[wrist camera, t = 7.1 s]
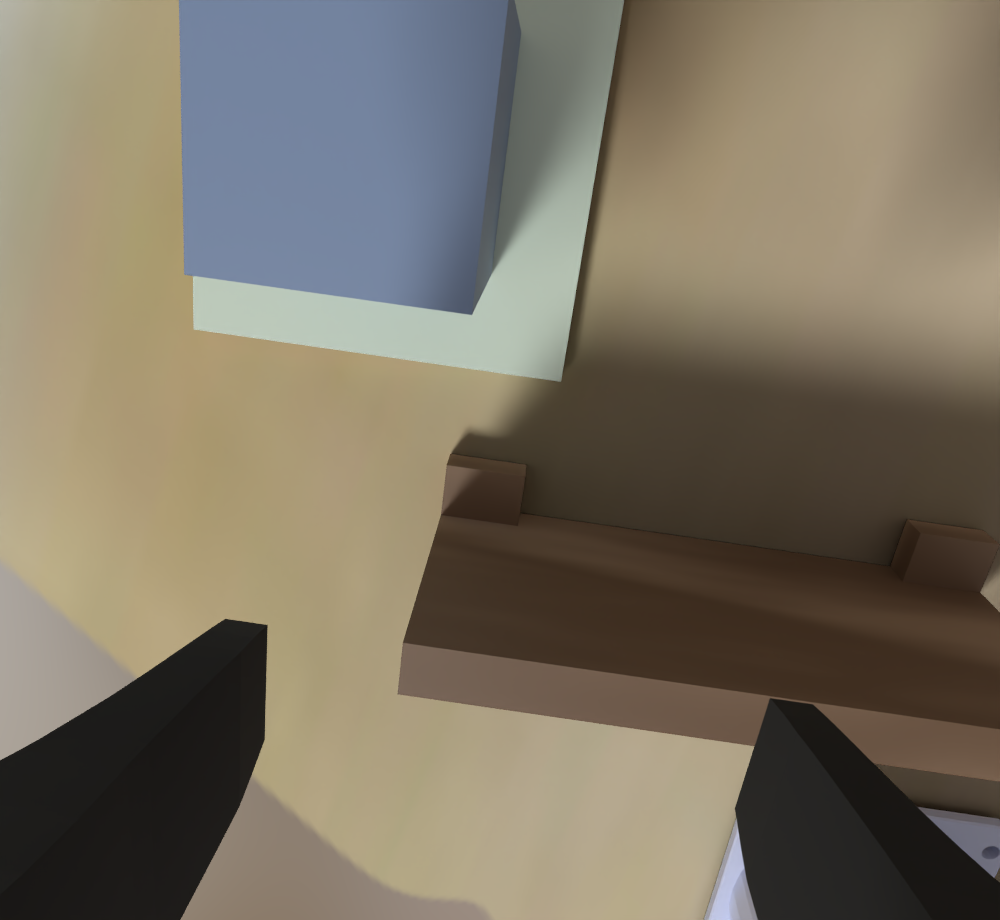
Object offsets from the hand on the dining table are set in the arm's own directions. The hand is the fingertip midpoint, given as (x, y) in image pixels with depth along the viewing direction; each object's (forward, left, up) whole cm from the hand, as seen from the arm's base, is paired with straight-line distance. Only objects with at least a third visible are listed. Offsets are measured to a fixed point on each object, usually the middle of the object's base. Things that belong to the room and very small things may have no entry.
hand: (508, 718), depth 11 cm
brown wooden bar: (-2, -5, -10) cm, 11 cm away
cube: (+7, +4, -9) cm, 12 cm away
